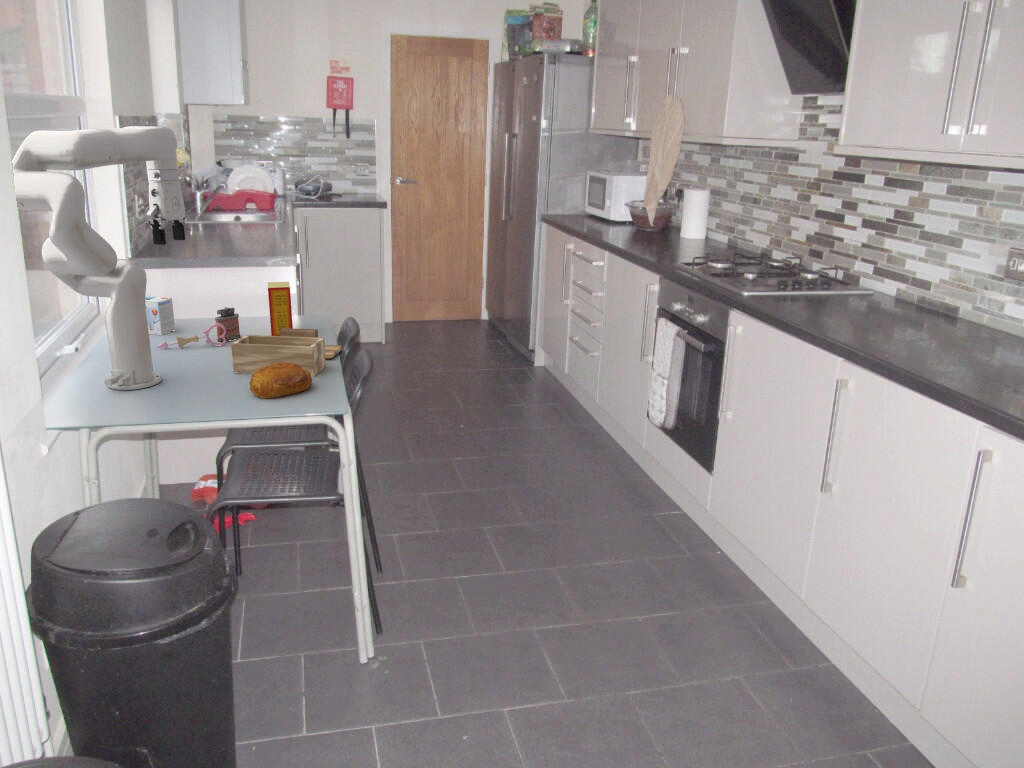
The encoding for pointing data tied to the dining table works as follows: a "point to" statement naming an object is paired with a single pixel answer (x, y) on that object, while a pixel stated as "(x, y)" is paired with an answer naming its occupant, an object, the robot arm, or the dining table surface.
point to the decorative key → (196, 338)
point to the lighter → (228, 324)
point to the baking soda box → (279, 306)
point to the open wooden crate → (278, 353)
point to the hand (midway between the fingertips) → (169, 242)
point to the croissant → (279, 380)
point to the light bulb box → (159, 315)
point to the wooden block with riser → (313, 333)
